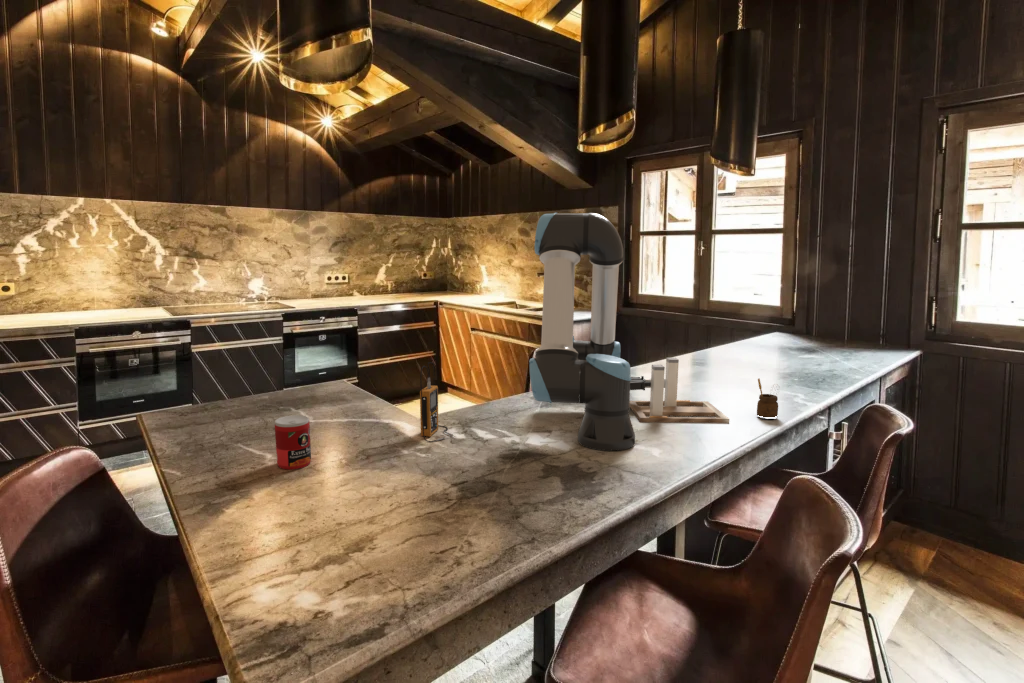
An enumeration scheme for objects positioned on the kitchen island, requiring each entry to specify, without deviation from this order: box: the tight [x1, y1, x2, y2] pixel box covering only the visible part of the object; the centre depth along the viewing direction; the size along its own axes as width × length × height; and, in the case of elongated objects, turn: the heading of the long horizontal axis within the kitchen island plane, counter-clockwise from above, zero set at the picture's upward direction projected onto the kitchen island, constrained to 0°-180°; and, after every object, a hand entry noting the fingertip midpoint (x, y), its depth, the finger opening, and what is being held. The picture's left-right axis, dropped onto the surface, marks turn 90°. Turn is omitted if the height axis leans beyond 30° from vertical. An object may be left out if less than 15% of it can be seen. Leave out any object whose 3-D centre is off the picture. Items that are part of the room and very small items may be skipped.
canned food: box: [274, 414, 312, 471], centre depth 136 cm, size 8×8×11 cm
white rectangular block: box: [649, 364, 666, 417], centre depth 171 cm, size 3×4×16 cm
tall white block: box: [663, 357, 680, 406], centre depth 183 cm, size 3×4×16 cm
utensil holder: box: [756, 378, 780, 417], centre depth 177 cm, size 6×6×12 cm
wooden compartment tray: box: [629, 399, 730, 425], centre depth 178 cm, size 26×20×3 cm
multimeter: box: [419, 361, 457, 443], centre depth 159 cm, size 15×10×20 cm
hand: (664, 383), depth 184 cm, fingers closed
